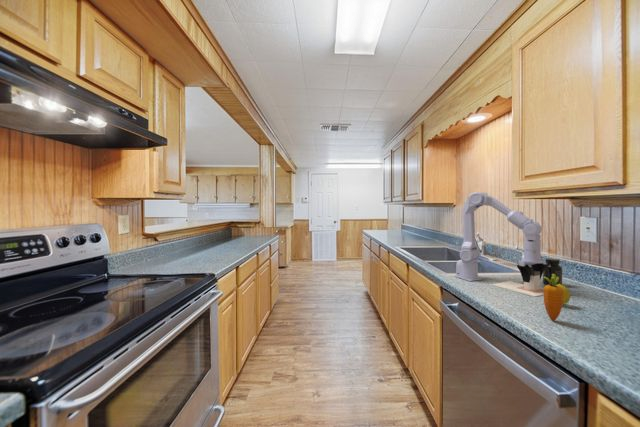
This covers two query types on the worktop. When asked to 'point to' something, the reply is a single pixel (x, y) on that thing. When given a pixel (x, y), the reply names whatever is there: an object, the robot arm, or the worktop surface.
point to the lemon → (565, 293)
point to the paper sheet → (519, 288)
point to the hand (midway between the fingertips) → (531, 280)
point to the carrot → (553, 297)
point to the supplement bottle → (552, 270)
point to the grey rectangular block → (533, 281)
